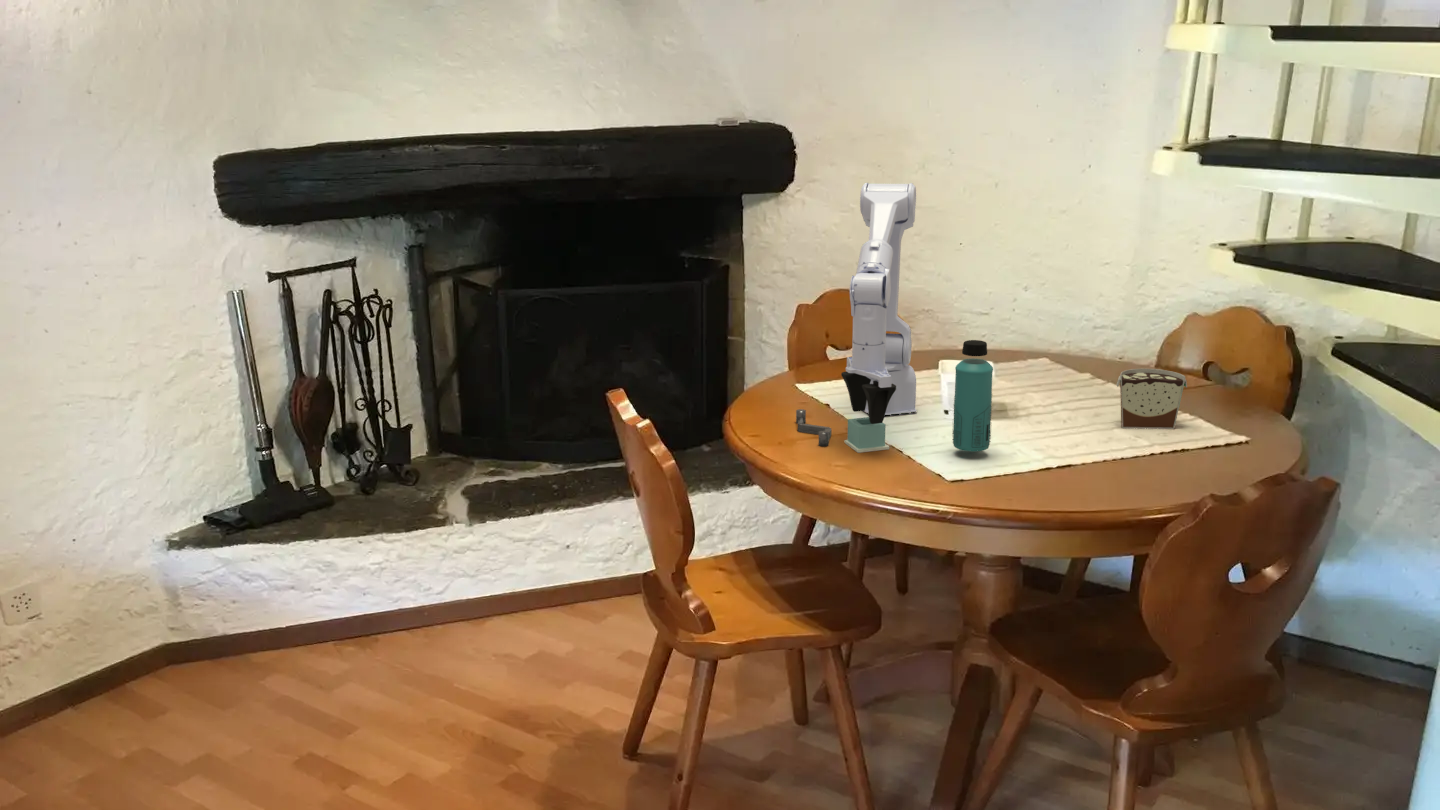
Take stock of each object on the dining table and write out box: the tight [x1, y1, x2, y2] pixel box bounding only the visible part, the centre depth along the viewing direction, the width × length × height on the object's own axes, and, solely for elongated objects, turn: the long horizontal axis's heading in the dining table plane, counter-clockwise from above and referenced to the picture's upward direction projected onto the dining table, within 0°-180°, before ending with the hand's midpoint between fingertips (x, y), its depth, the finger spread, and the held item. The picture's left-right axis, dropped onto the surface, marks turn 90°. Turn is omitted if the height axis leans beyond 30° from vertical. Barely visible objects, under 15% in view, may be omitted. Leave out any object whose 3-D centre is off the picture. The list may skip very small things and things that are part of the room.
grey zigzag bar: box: [795, 408, 832, 448], centre depth 205 cm, size 5×16×2 cm, turn 17°
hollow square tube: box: [846, 416, 886, 449], centre depth 197 cm, size 5×5×4 cm
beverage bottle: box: [951, 339, 994, 452], centre depth 190 cm, size 6×7×20 cm
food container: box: [1116, 368, 1188, 430], centre depth 206 cm, size 12×6×10 cm, turn 84°
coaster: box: [843, 439, 890, 454], centre depth 197 cm, size 6×6×1 cm
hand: (867, 416), depth 196 cm, fingers open, 7 cm apart
